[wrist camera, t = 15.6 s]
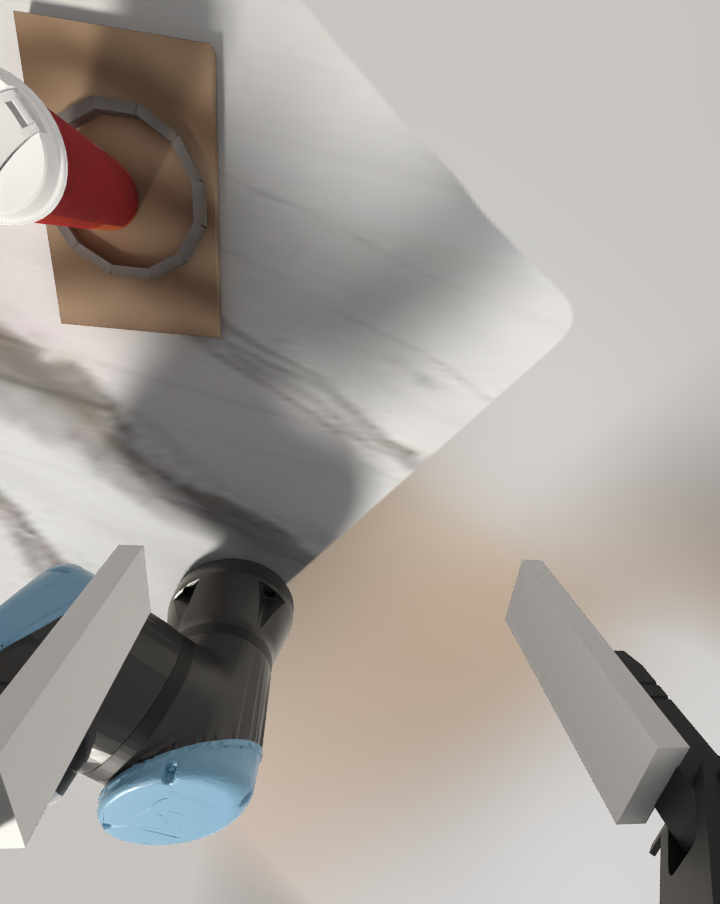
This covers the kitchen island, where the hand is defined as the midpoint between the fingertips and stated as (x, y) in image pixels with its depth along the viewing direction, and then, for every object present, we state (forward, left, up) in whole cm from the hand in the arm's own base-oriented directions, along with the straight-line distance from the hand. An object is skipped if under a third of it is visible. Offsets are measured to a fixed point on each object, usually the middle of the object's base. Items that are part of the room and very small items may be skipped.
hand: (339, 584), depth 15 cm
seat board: (+15, +18, -32) cm, 39 cm away
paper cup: (+15, +20, -30) cm, 39 cm away
